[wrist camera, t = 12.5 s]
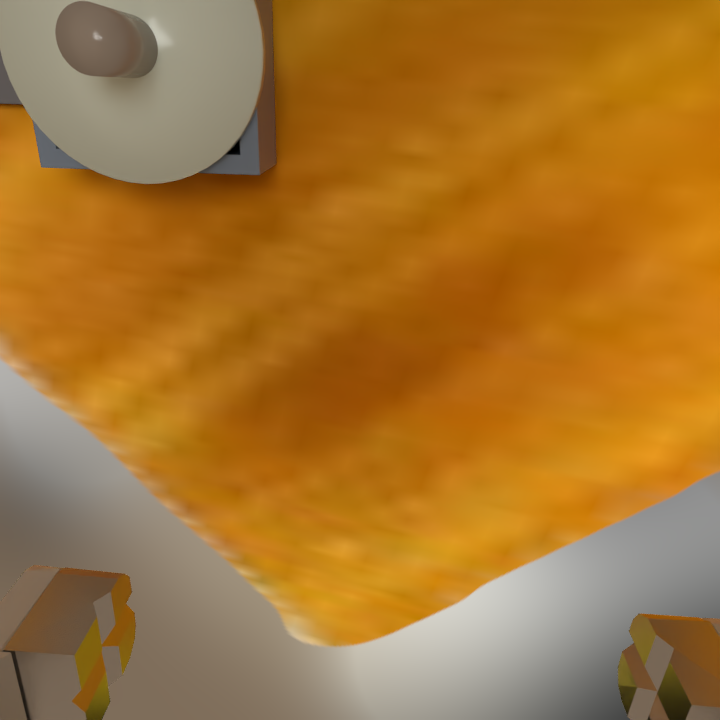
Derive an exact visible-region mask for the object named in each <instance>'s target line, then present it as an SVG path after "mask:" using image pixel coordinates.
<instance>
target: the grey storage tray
mask: <svg viewBox="0 0 720 720" xmlns="http://www.w3.org/2000/svg"><path fill="white" fill-rule="evenodd" d="M256 3H257V6H258V9H259V12H260V16H261V21H262V26H263V31H264V40H265V51H266V53H265V74H264V81H263V88H262V92H261V96H260V99H259V103H258V106H257V108H256V111H255V113H254V116H253V118H252V120H251V122H250V124H249V126H248V127H247V129H246V131H245V132H244V134H243V136H242V137H241V138H240V139H239V141H238V142H237V143H236V145H235V146H234V147H233V148H232V149H231V150H230V151H229V152H228V153H227V154H226V155H225V156H224V157H223V158H221V159H220V160H218V161H217V162H216V163H214V164H213V165H211V166H210V167H208V168H206V169H204V170H202V171H200V172H198V173H215V174H243V175H261V174H262V173H264V172H265V171H267V170H268V169H270V168H271V167H273V166H274V165H276V127H275V90H274V53H273V15H272V0H256ZM33 124H34V130H35V135H36V141H37V146H38V152H39V157H40V163H41V167H45V168H74V169H90V168H88V167H86V166H84V165H82V164H80V163H79V162H77V161H76V160H74V159H73V158H71V157H70V156H68V155H67V154H66V153H65V152H64V151H62V150H61V149H60V148H59V147H58V146H56V145H55V144H54V143H53V142H52V141H51V140H50V139H49V138H48V137H47V136H46V135H45V134H44V133H43V132H42V131H41V129H40V128H39V127H38V126H37V124H36V123H35V122H34V121H33Z"/></svg>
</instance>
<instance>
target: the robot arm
mask: <svg viewBox="0 0 720 720" xmlns="http://www.w3.org/2000/svg"><path fill="white" fill-rule="evenodd" d="M131 593H132V589H131V583H130V577H129V576H128V575H125V574H121V573H111V572H101V571H92V570H82V569H73V568H56V567H48V566H38V565H34V566H32V567H30V568H29V569H27V570H25V571H24V572H23V573H22V575H21V576H20V577H19V579H18V580H17V581H16V583H15V584H14V585H13V586H12V588H11V589H10V590H9V591H8V593H7V594H6V595H5V597H4V598H3V599H2V600H1V602H0V720H102V719H103V716H104V714H105V712H106V710H107V708H108V706H109V704H110V696H109V689H108V686H109V685H110V684H112V683H113V682H114V681H116V680H117V679H118V678H120V677H121V676H122V675H123V673H124V671H125V668H126V666H127V664H128V662H129V659H130V656H131V652H132V648H133V644H134V640H135V629H136V622H135V613H134V612H133V611H132V610H131V609H130V608H129V607H128V606H127V604H126V603H127V601H128V599H129V597H130V595H131ZM629 632H630V635H631V637H632V639H633V641H634V643H633V644H632V645H631V646H629V647H628V648H627V649H625V650H624V651H622V654H621V658H620V661H619V665H618V687H619V691H620V695H621V700H622V703H623V706H624V709H625V711H626V714H627V716H628V717H629V718H630V719H631V720H720V619H713V618H702V619H701V618H697V617H682V616H668V615H653V614H638V615H637V616H636V617H635V618H634V619H633V621H632V624H631V627H630V630H629Z"/></svg>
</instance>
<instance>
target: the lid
mask: <svg viewBox="0 0 720 720" xmlns="http://www.w3.org/2000/svg"><path fill="white" fill-rule="evenodd" d="M0 51H1V55H2V59H3V63H4V66H5V68H6V71H7V74H8V76H9V79H10V82H11V84H12V86H13V88H14V90H15V92H16V94H17V96H18V98H19V100H20V101H21V103H22V104H23V106H24V108H25V109H26V111H27V112H28V114H29V115H30V117H31V118H32V119H33V121H34V122H35V123H36V124H37V126H38V127H39V128H40V129H41V131H42V132H43V133H44V134H45V135H46V136H47V137H48V138H49V139H50V140H51V141H52V142H53V143H54V144H55V145H56V146H58V147H59V148H60V149H61V150H62V151H64V152H65V153H66V154H67V155H68V156H70V157H71V158H73V159H74V160H76V161H77V162H79V163H80V164H82V165H84V166H86V167H88V168H90V169H92V170H94V171H95V172H97V173H100V174H103V175H105V176H108V177H111V178H113V179H118V180H122V181H126V182H131V183H141V184H157V183H166V182H171V181H177V180H180V179H183V178H186V177H189V176H192V175H194V174H196V173H198V172H200V171H202V170H204V169H206V168H208V167H210V166H211V165H213V164H214V163H216V162H217V161H218V160H220V159H221V158H223V157H224V156H225V155H226V154H227V153H228V152H229V151H230V150H231V149H232V148H233V147H234V146H235V145H236V143H237V142H238V141H239V139H240V138H241V137H242V136H243V134H244V132H245V131H246V129H247V127H248V126H249V124H250V122H251V120H252V118H253V116H254V113H255V111H256V108H257V106H258V103H259V99H260V96H261V92H262V88H263V81H264V74H265V53H266V51H265V40H264V31H263V26H262V21H261V16H260V12H259V9H258V6H257V3H256V0H0Z"/></svg>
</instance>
